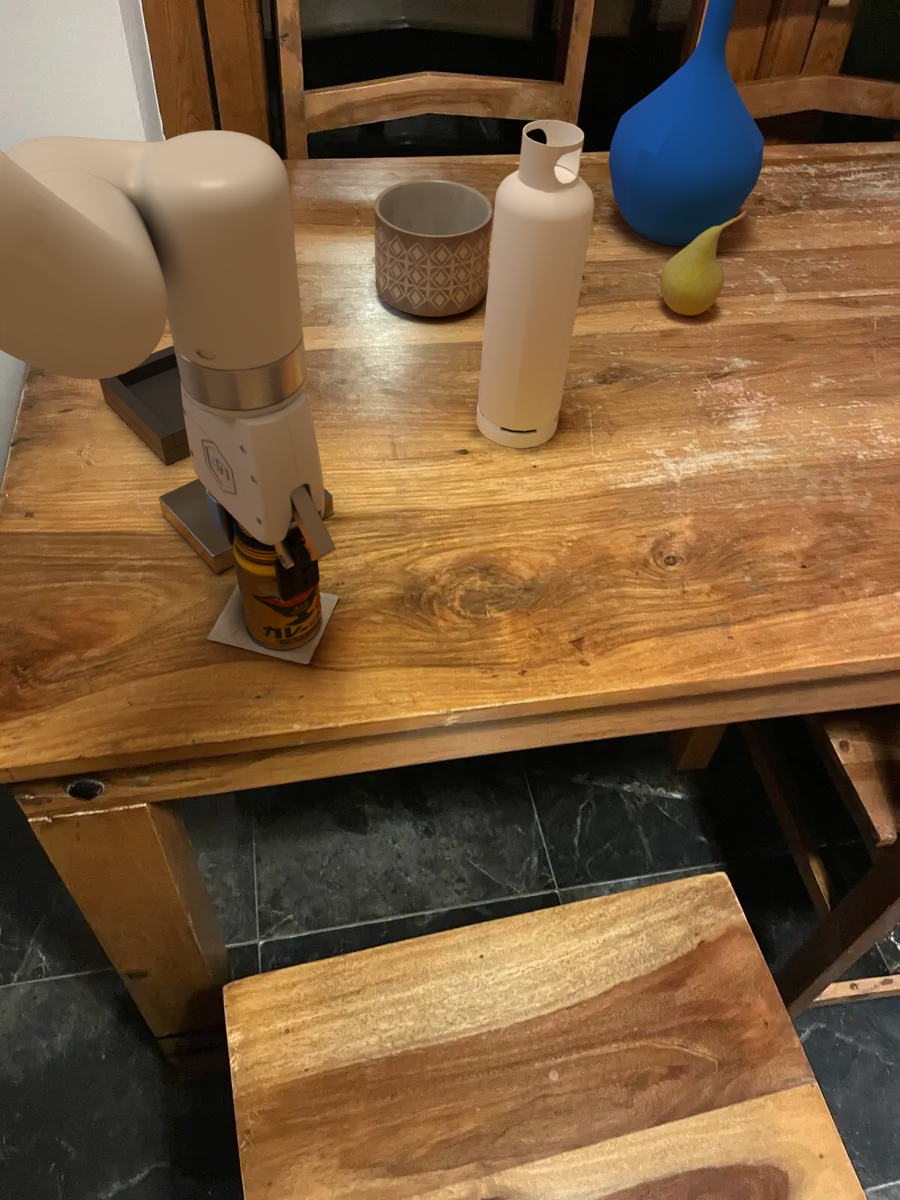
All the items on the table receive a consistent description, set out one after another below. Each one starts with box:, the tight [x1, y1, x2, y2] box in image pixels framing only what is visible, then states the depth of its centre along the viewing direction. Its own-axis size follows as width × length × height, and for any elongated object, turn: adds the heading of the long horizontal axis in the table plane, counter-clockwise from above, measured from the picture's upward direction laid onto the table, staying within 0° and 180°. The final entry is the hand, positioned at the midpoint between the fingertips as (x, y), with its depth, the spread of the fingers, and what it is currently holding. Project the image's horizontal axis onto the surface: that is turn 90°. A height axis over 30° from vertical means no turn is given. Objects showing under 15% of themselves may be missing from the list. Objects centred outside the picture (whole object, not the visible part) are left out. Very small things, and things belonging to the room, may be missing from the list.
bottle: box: [475, 119, 595, 449], centre depth 82 cm, size 8×8×28 cm
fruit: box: [659, 209, 749, 316], centre depth 103 cm, size 7×8×12 cm
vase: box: [608, 0, 765, 247], centre depth 109 cm, size 18×18×30 cm
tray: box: [98, 345, 191, 466], centre depth 91 cm, size 13×12×3 cm
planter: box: [373, 178, 494, 317], centre depth 104 cm, size 13×13×10 cm
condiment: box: [206, 518, 340, 665], centre depth 71 cm, size 7×8×12 cm
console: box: [158, 477, 334, 575], centre depth 81 cm, size 12×9×4 cm
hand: (273, 561), depth 69 cm, fingers closed on condiment, 6 cm apart
